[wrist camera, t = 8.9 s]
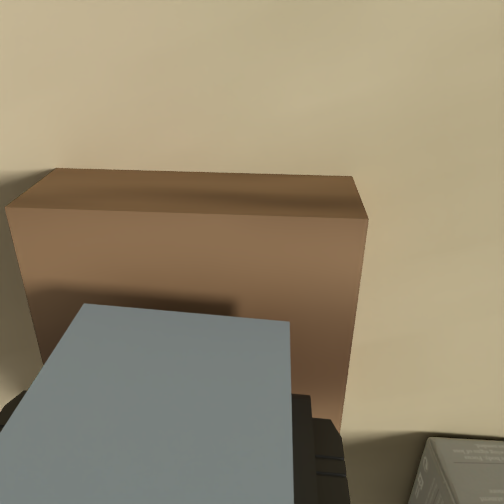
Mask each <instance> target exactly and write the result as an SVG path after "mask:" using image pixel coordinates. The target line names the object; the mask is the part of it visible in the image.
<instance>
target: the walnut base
mask: <svg viewBox="0 0 504 504" xmlns="http://www.w3.org/2000/svg"><path fill="white" fill-rule="evenodd" d="M5 211H6V215H7V219H8V223H9V228H10V232H11V236H12V240H13V244H14V248H15V252H16V256H17V260H18V264H19V268H20V272H21V276H22V280H23V284H24V288H25V292H26V296H27V300H28V304H29V308H30V312H31V316H32V320H33V324H34V328H35V332H36V337H37V341H38V345H39V349H40V353H41V357H42V361H43V365H44V364H45V363H46V361H47V360H48V358H49V357H50V355H51V353H52V352H53V350H54V349H55V347H56V346H57V344H58V343H59V341H60V340H61V338H62V336H63V335H64V333H65V332H66V330H67V329H68V327H69V326H70V324H71V322H72V321H73V319H74V318H75V316H76V315H77V313H78V312H79V310H80V309H81V307H82V305H83V304H84V303H85V304H97V305H108V306H119V307H130V308H142V309H153V310H164V311H175V312H187V313H198V314H209V315H220V316H232V317H243V318H254V319H265V320H276V321H288V322H290V359H291V393H292V394H303V395H310V397H311V408H312V418H323V419H331V421H332V422H333V424H334V426H335V427H336V429H337V431H338V432H339V434H340V427H341V420H342V413H343V405H344V398H345V390H346V383H347V376H348V368H349V361H350V353H351V346H352V339H353V331H354V324H355V316H356V309H357V302H358V294H359V287H360V279H361V272H362V265H363V257H364V250H365V242H366V235H367V228H368V220H369V219H368V216H367V214H366V211H365V208H364V206H363V203H362V201H361V198H360V195H359V193H358V190H357V188H356V185H355V183H354V180H353V177H352V176H321V175H285V174H249V173H213V172H177V171H141V170H105V169H70V168H56V169H55V170H53V171H52V172H51V173H49V174H48V175H47V176H45V177H44V178H43V179H41V180H40V181H39V182H37V183H36V184H35V185H33V186H32V187H31V188H29V189H28V190H27V191H25V192H24V193H23V194H21V195H20V196H19V197H17V198H16V199H15V200H13V201H12V202H11V203H10V204H8V205H7V206H6V207H5Z"/></svg>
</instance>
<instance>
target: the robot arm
mask: <svg viewBox="0 0 504 504" xmlns="http://www.w3.org/2000/svg"><path fill="white" fill-rule="evenodd" d="M26 392H27V391H23V392H21V393H20V394H19V395H18V396H16V397H15V398H14V399H13V400H11V401H10V402H9V403H7V404H6V405H5V406H4V407H3V409H2V410H1V412H0V432H1V431H2V429H3V428H4V426H5V425H6V423H7V421H8V420H9V418H10V417H11V415H12V414H13V412H14V411H15V409H16V408H17V406H18V404H19V403H20V401H21V400H22V398H23V397H24V395H25V394H26ZM291 402H292V446H293V489H294V504H350V497H349V490H348V482H347V478H346V467H345V461H344V453H343V445H342V438H341V436H340V434H339V432H338V431H337V429H336V427H335V426H334V424H333V422H332V421H331V419H323V418H312V408H311V397H310V395H303V394H292V393H291Z"/></svg>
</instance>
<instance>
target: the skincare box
mask: <svg viewBox="0 0 504 504" xmlns="http://www.w3.org/2000/svg"><path fill="white" fill-rule="evenodd" d="M408 504H504V441H494V440H475V439H456V438H441V437H429V438H428V439H427V442H426V445H425V449H424V452H423V455H422V458H421V461H420V465H419V468H418V472H417V475H416V479H415V482H414V485H413V489H412V492H411V495H410V499H409V501H408Z"/></svg>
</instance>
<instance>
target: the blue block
mask: <svg viewBox="0 0 504 504" xmlns="http://www.w3.org/2000/svg"><path fill="white" fill-rule="evenodd" d="M0 504H294V489H293V446H292V402H291V359H290V322H288V321H276V320H265V319H254V318H243V317H232V316H220V315H209V314H198V313H187V312H175V311H164V310H153V309H142V308H130V307H119V306H108V305H97V304H85V303H84V304H83V305H82V307H81V309H80V310H79V312H78V313H77V315H76V316H75V318H74V319H73V321H72V322H71V324H70V326H69V327H68V329H67V330H66V332H65V333H64V335H63V336H62V338H61V340H60V341H59V343H58V344H57V346H56V347H55V349H54V350H53V352H52V353H51V355H50V357H49V358H48V360H47V361H46V363H45V364H44V366H43V367H42V369H41V370H40V372H39V374H38V375H37V377H36V378H35V380H34V381H33V383H32V384H31V386H30V387H29V389H28V391H27V392H26V394H25V395H24V397H23V398H22V400H21V401H20V403H19V404H18V406H17V408H16V409H15V411H14V412H13V414H12V415H11V417H10V418H9V420H8V421H7V423H6V425H5V426H4V428H3V429H2V431H1V432H0Z"/></svg>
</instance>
